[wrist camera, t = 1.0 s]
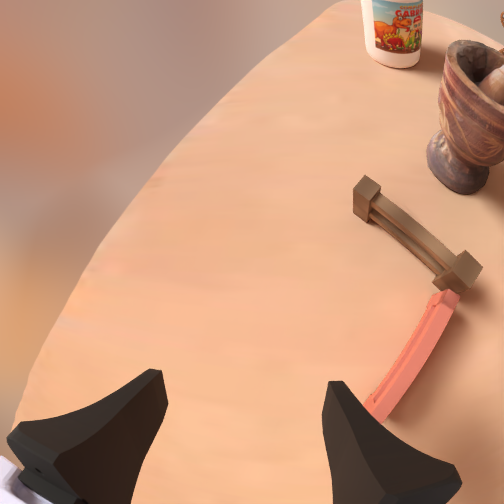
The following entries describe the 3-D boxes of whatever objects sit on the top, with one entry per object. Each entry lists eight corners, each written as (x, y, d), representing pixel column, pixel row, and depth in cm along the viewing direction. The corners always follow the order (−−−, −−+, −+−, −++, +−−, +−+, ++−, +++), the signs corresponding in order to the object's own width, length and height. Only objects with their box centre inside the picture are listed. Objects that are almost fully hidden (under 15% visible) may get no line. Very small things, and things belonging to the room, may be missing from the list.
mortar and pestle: (457, 107, 24) (485, -34, 5) (510, 155, 20) (577, 28, 2) (407, 158, 25) (431, -25, 6) (468, 217, 21) (574, 68, 3)
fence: (562, 393, 12) (589, 400, 7) (548, 416, 12) (574, 427, 7) (370, 191, 25) (373, 161, 20) (351, 214, 25) (351, 187, 20)
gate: (432, 295, 21) (448, 288, 17) (442, 301, 21) (460, 296, 17) (362, 404, 21) (365, 420, 17) (373, 411, 20) (378, 427, 16)
